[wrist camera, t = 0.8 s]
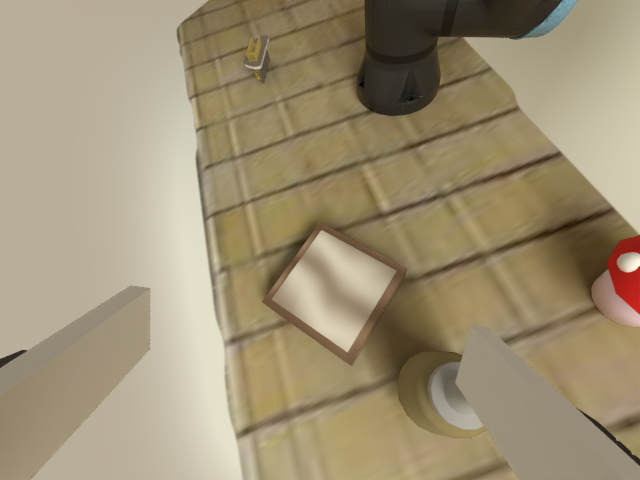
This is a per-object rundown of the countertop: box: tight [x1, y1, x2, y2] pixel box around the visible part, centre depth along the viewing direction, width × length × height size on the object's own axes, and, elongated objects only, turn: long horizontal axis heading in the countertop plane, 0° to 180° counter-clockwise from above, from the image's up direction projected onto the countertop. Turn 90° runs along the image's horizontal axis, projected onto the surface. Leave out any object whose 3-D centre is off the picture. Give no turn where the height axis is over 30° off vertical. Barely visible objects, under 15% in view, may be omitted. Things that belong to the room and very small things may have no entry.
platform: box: [244, 36, 270, 84], centre depth 63 cm, size 12×18×7 cm, turn 174°
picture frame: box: [262, 223, 407, 366], centre depth 41 cm, size 14×14×3 cm
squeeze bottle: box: [397, 351, 486, 438], centre depth 27 cm, size 8×8×18 cm
